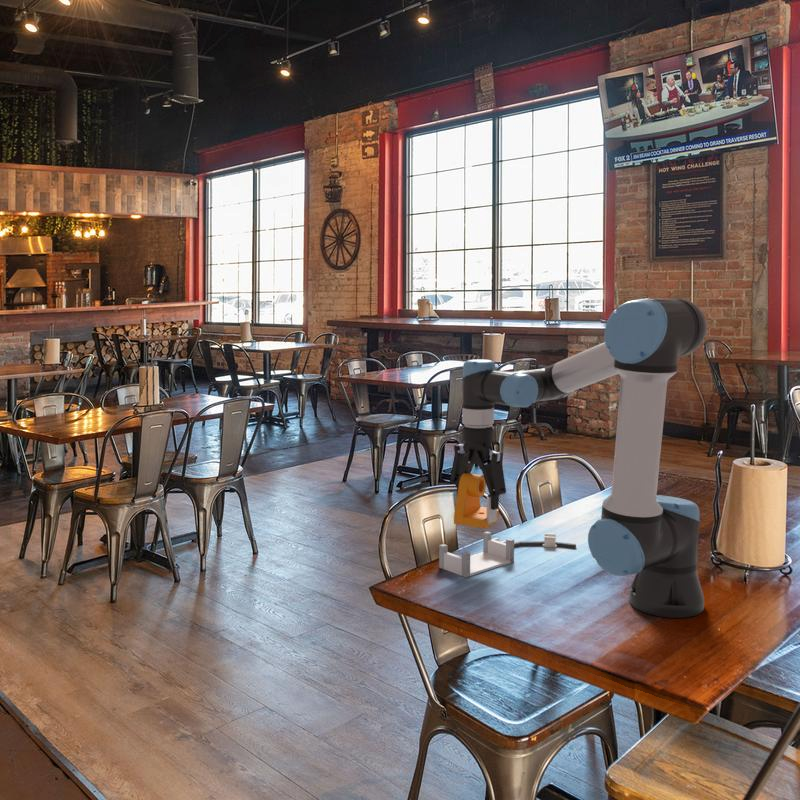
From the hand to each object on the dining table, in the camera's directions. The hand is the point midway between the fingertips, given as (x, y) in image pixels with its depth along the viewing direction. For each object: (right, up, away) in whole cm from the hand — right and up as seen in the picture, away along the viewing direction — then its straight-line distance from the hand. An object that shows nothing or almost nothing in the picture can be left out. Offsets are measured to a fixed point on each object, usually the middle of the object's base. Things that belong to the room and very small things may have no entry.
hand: (477, 517), depth 202 cm
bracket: (0, -2, 0) cm, 2 cm away
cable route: (+15, -10, +13) cm, 22 cm away
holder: (0, -12, +2) cm, 12 cm away
